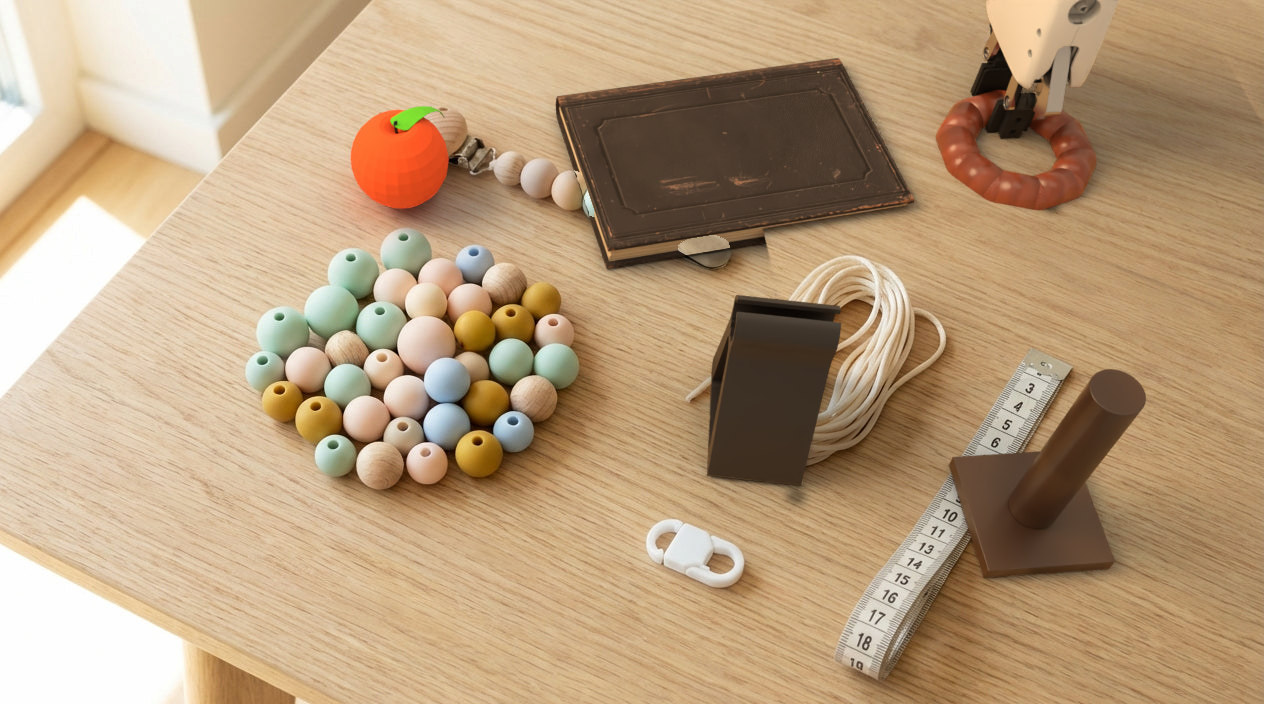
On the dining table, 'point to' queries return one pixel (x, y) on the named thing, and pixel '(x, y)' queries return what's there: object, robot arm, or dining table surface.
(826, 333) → the phone stand
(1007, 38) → the robot arm
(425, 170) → the clementine
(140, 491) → the dining table surface
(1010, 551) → the peg
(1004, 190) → the ring
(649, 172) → the hardcover book
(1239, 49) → the dining table surface
